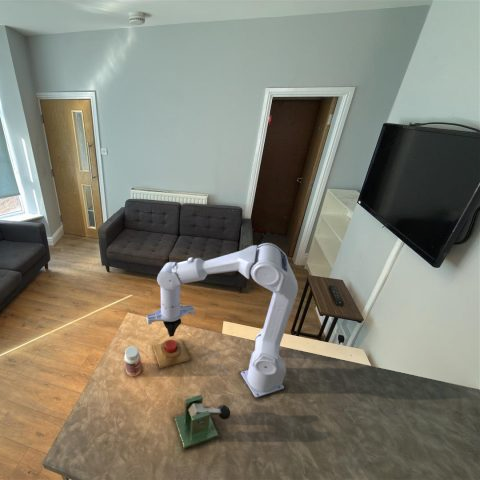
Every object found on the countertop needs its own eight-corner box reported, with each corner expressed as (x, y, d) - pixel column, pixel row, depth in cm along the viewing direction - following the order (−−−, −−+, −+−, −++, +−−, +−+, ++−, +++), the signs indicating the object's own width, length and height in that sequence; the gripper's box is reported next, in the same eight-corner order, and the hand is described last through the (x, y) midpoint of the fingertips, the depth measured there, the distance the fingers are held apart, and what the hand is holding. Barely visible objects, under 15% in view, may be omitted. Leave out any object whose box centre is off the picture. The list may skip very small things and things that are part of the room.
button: (174, 342, 87) (174, 339, 87) (178, 351, 84) (178, 347, 84) (164, 345, 87) (164, 341, 86) (167, 354, 84) (167, 350, 83)
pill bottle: (138, 377, 79) (137, 359, 76) (124, 375, 80) (121, 356, 76) (142, 364, 84) (141, 346, 80) (128, 361, 84) (126, 343, 81)
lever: (222, 410, 70) (228, 402, 69) (228, 422, 67) (234, 414, 66) (186, 408, 65) (193, 400, 64) (191, 422, 62) (198, 413, 61)
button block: (180, 340, 91) (181, 334, 90) (189, 360, 84) (189, 353, 83) (153, 348, 89) (153, 341, 88) (159, 368, 82) (159, 361, 81)
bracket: (205, 409, 71) (207, 387, 67) (217, 436, 65) (221, 415, 61) (174, 419, 69) (174, 398, 64) (184, 449, 63) (184, 428, 58)
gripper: (188, 287, 81) (187, 320, 88) (143, 297, 78) (145, 330, 84) (197, 302, 75) (195, 335, 82) (149, 313, 72) (151, 347, 78)
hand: (170, 334), depth 82 cm, fingers closed
